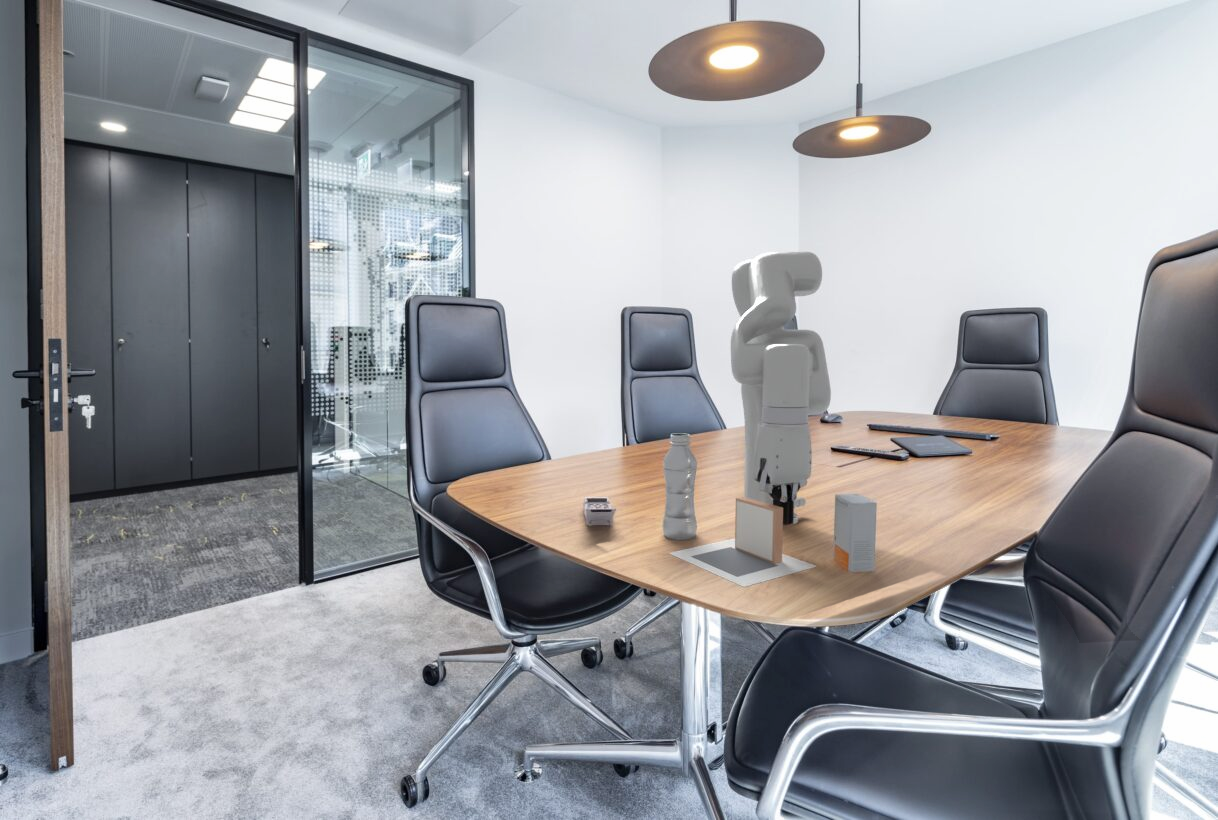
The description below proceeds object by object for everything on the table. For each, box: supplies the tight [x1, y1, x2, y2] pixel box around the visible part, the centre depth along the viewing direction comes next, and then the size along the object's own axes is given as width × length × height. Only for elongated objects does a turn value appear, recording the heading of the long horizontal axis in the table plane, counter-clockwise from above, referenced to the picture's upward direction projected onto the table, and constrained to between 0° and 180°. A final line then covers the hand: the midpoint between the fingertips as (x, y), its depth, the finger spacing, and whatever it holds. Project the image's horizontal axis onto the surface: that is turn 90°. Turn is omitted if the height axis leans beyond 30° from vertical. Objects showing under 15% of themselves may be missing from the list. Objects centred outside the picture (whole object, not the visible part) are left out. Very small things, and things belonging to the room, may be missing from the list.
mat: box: [668, 537, 818, 588], centre depth 102 cm, size 16×18×1 cm
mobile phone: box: [583, 496, 617, 526], centre depth 130 cm, size 6×6×25 cm
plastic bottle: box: [661, 432, 698, 541], centre depth 114 cm, size 6×7×20 cm
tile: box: [734, 496, 784, 564], centre depth 103 cm, size 2×9×9 cm, turn 32°
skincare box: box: [832, 493, 878, 573], centre depth 98 cm, size 6×4×12 cm
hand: (782, 522), depth 106 cm, fingers closed
